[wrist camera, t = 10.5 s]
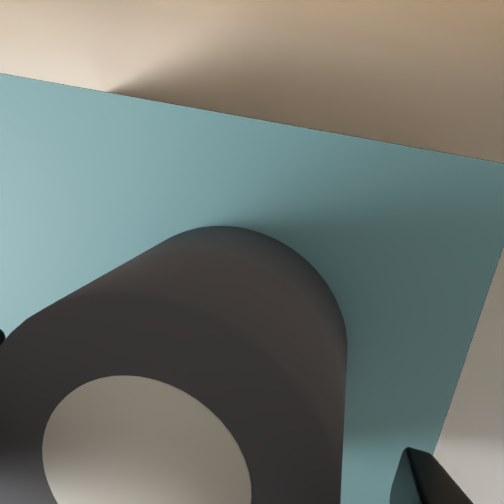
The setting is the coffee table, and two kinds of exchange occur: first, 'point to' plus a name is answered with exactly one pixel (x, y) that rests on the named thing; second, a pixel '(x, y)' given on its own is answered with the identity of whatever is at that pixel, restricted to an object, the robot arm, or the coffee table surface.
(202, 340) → the grey cylinder white cap
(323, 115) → the coffee table surface
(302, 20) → the coffee table surface
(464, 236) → the lid
